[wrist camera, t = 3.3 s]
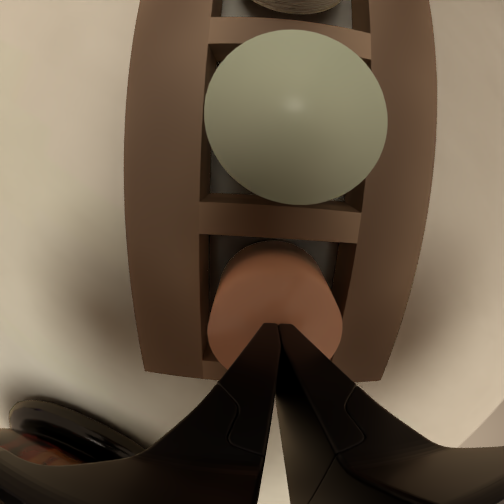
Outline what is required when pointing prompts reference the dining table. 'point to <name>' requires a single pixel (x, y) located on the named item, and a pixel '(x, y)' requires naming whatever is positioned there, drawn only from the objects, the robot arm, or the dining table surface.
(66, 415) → the amphora vase
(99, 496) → the robot arm
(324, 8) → the grey button
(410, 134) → the button panel
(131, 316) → the dining table surface
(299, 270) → the terracotta button
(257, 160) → the sage button
